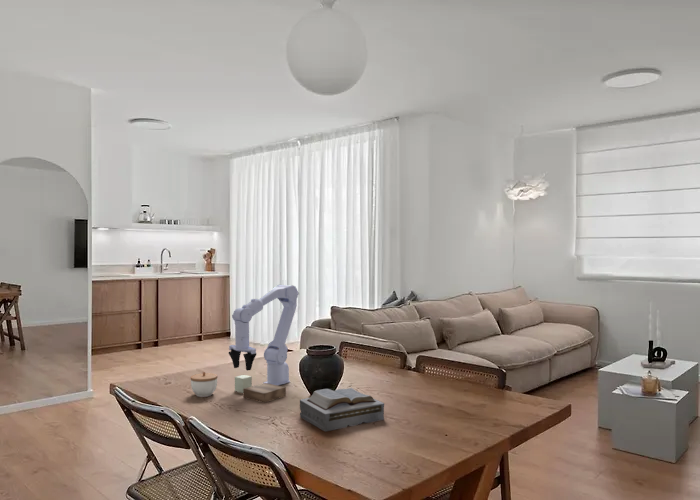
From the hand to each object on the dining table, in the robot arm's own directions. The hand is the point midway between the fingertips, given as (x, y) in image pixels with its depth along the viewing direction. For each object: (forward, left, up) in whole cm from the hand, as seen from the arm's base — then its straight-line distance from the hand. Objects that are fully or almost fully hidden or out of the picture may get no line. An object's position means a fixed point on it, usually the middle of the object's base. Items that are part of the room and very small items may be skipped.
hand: (242, 368), depth 234 cm
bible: (+3, +56, -10) cm, 57 cm away
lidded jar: (+14, -8, -10) cm, 18 cm away
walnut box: (+1, +14, -10) cm, 17 cm away
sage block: (0, 0, -9) cm, 9 cm away
